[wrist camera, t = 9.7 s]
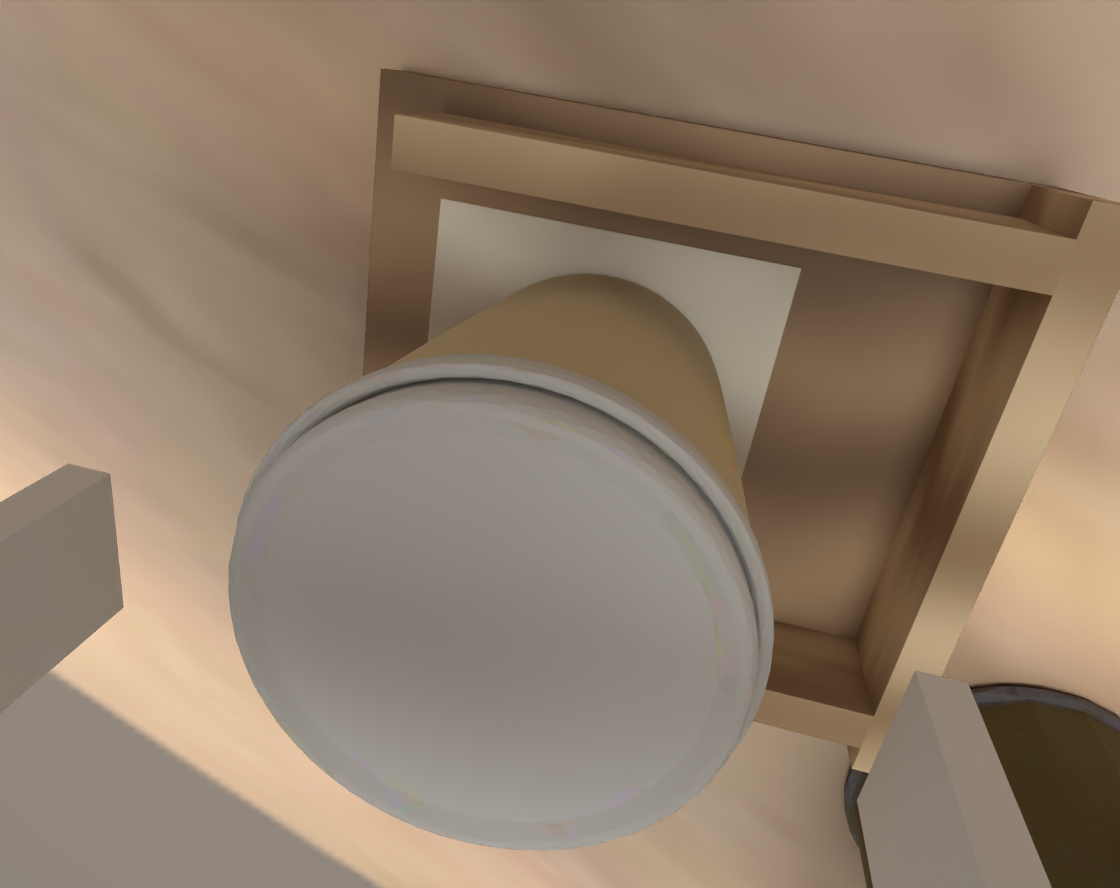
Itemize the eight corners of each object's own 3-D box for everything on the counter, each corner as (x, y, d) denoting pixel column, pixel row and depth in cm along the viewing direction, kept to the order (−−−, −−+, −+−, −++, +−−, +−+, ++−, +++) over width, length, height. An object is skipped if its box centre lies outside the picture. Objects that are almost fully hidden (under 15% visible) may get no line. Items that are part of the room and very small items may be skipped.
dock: (401, 70, 23) (321, 62, 18) (1059, 187, 21) (1154, 211, 16) (368, 547, 29) (304, 628, 25) (865, 667, 27) (893, 779, 23)
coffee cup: (449, 528, 26) (258, 827, 15) (426, 238, 23) (154, 363, 12) (738, 550, 25) (751, 902, 14) (764, 243, 21) (809, 393, 10)
